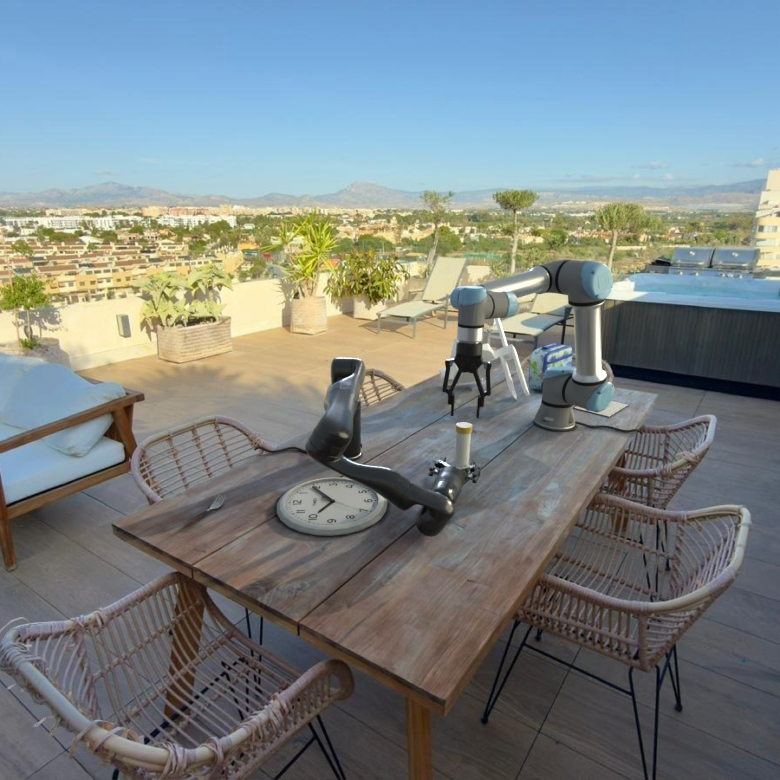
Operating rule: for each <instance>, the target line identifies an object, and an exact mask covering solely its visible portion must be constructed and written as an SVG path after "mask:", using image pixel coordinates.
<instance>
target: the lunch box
mask: <svg viewBox="0 0 780 780" xmlns="http://www.w3.org/2000/svg"><path fill="white" fill-rule="evenodd" d="M573 356H574V355H573V347H572V346H571V345H566V344H560V343H551V344H548V345H544V346H541V347H538V348H536V349H534V350H533V351H532V353H531V355H530V359H529V370H528V371H529V372H528V389H531V390H536V391H541V392H542V391H543V380H544V379H543V378H544V375H545V370H546V369H547V368H549V367H555V366H570V367H572V365H573V363H572V362H573Z"/></svg>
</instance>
